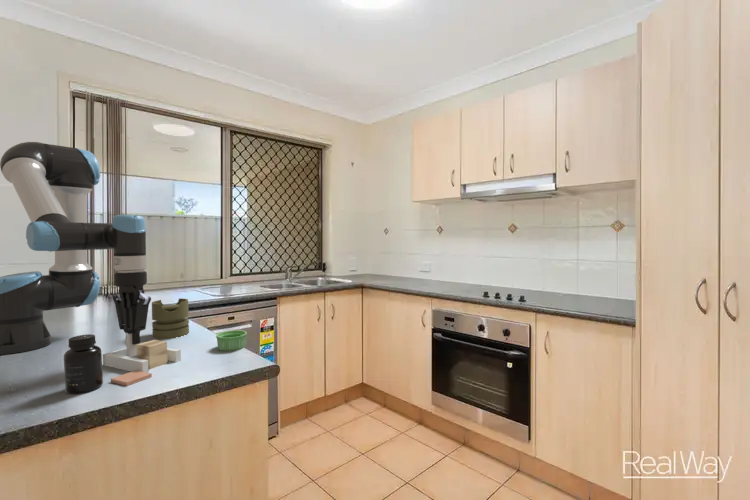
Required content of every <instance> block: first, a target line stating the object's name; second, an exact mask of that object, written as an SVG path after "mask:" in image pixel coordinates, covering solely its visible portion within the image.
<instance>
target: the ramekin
mask: <svg viewBox="0 0 750 500" xmlns="http://www.w3.org/2000/svg"><path fill="white" fill-rule="evenodd" d="M247 334H248V333H247V331H245V330H241V329H236V330H235V329H233V330H225V331H222V332H219V333H216V335H215V338H216V341H217V342H216V343H217V349H218V350H219V351H222V352H231V351H238V350H242V349H243V348H245V347H246V343H247V342H246V341H247Z"/></svg>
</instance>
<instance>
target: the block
mask: <svg viewBox="0 0 750 500" xmlns="http://www.w3.org/2000/svg"><path fill="white" fill-rule="evenodd" d="M167 348H168V342H167V341H166V340H165V341H163V340H160V339H152V340H148V341H145V342H140V344H138V345H137V358H139V359H144V360H148V370H152V369H155V368H158V367H160V366H163V365H166V364H168V360H167Z"/></svg>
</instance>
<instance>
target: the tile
mask: <svg viewBox="0 0 750 500" xmlns="http://www.w3.org/2000/svg"><path fill="white" fill-rule="evenodd" d="M152 375H153V374H152V373H151V372H147V373H146V372H141V371H137V370H135V371H129V372H126V373H124V374H120V375H117V376H115V377H111V378H110V383H114V384H117V385H121V386H124V387H125V386H127V387H128V386H131V385H133V384H136V383H139V382H142V381H144V380H147V379H150V378H153V376H152Z"/></svg>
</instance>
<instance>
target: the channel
mask: <svg viewBox="0 0 750 500" xmlns="http://www.w3.org/2000/svg"><path fill="white" fill-rule="evenodd" d="M181 353H182V351H181V349H178V348H172V347H167V362H168V361H169V362H175V363H178V362H181V360H182V357H181V355H182V354H181ZM102 366H105V367H108V366H109V368H113V367H114V369H119V370H123V371H129V372H132V371H135V370H137V371H141V372H146V373H149V369H148V360H144V359H139V358H137V355H135V356H132V357H128V356H127V348H126V347H124V348H121V349H118V350H114V351H110V352H107V353H104V354H103V353H102Z"/></svg>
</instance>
